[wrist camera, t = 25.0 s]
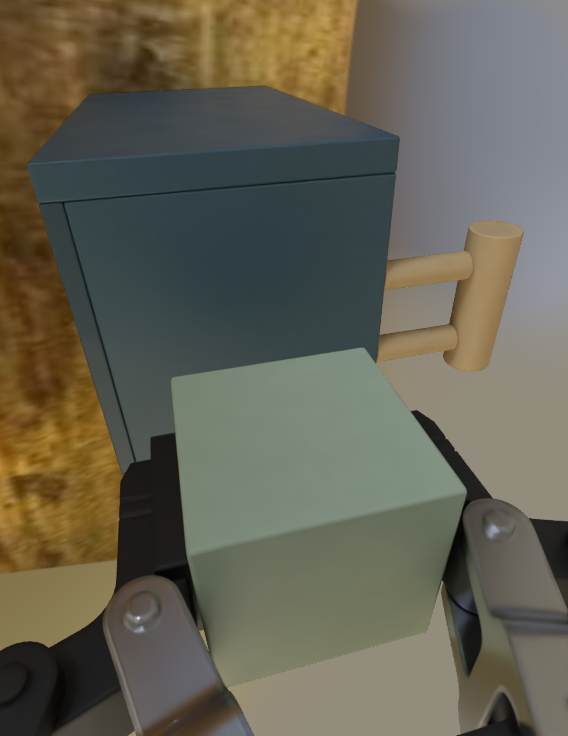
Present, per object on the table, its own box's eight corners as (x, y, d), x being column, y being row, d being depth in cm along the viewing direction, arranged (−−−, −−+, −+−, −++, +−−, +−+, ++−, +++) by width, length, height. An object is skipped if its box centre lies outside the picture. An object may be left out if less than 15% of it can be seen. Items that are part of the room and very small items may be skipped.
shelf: (127, 499, 18) (480, 428, 21) (22, 167, 12) (565, 126, 14) (132, 294, 33) (340, 268, 36) (87, 94, 26) (349, 81, 29)
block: (169, 376, 11) (185, 554, 7) (364, 345, 12) (470, 490, 8) (196, 510, 13) (217, 692, 10) (353, 478, 14) (428, 633, 10)
